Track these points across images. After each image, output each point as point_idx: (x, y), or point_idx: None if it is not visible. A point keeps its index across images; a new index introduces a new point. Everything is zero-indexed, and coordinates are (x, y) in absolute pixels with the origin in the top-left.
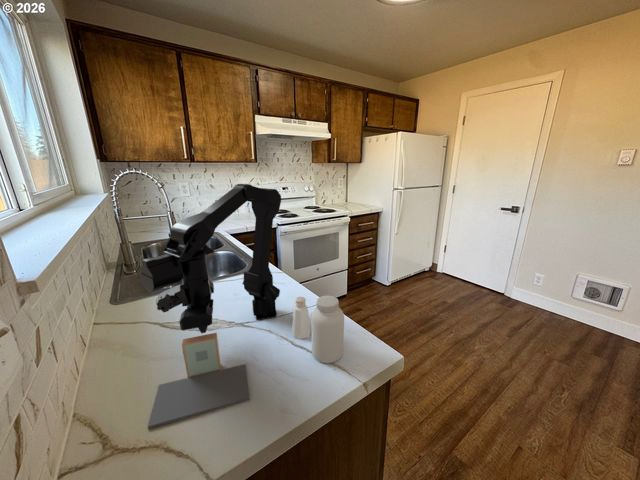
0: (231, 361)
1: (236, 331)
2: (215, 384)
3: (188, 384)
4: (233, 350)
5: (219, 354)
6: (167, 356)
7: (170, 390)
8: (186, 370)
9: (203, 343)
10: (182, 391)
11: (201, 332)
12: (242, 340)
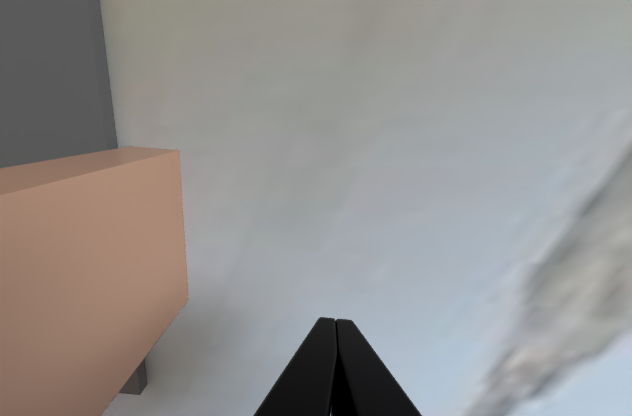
0: (196, 341)
1: (432, 392)
2: None
3: (57, 154)
4: (275, 359)
5: (152, 345)
6: (388, 3)
7: (27, 58)
8: (88, 153)
9: None
10: (10, 125)
11: (313, 327)
12: None
